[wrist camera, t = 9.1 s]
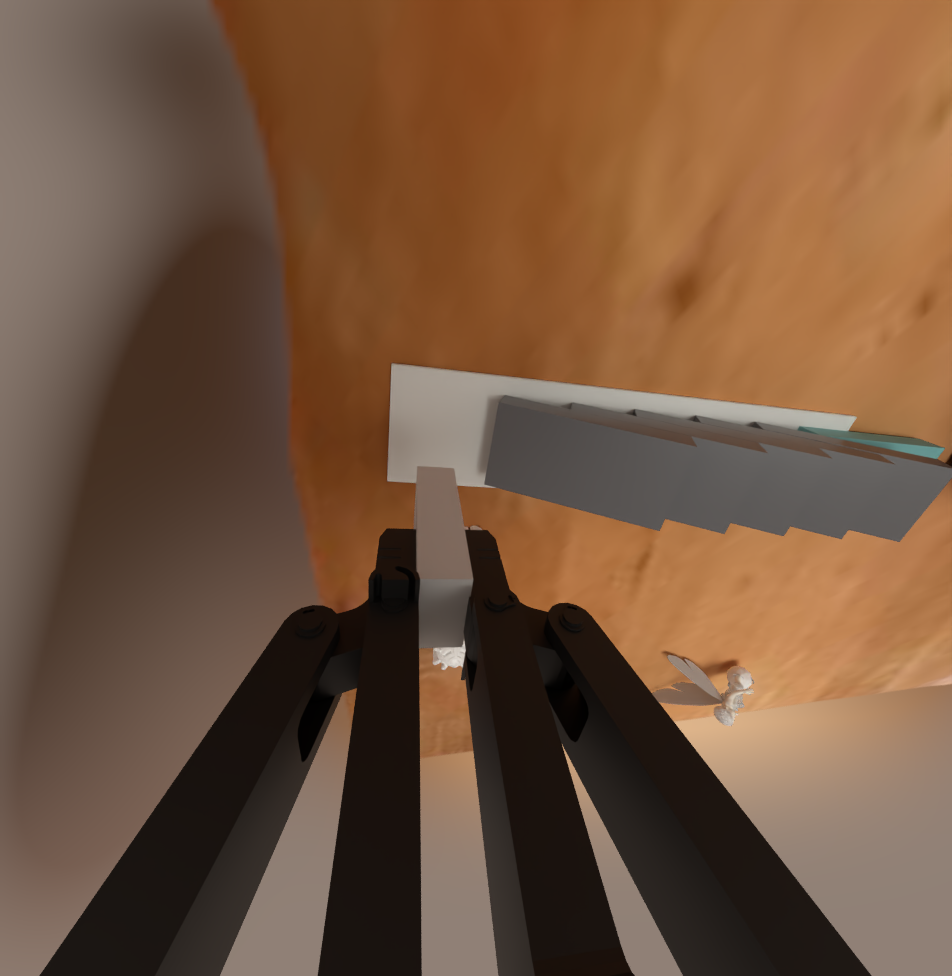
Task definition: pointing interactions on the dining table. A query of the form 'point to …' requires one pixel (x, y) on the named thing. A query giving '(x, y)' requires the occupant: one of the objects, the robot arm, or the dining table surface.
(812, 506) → the domino
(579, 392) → the mat
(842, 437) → the domino
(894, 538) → the domino
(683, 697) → the fairy figurine
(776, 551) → the dining table surface
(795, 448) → the domino
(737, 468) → the domino
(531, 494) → the domino
